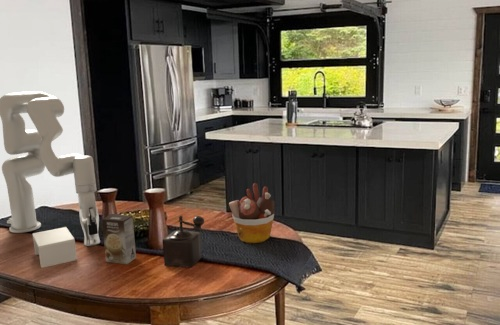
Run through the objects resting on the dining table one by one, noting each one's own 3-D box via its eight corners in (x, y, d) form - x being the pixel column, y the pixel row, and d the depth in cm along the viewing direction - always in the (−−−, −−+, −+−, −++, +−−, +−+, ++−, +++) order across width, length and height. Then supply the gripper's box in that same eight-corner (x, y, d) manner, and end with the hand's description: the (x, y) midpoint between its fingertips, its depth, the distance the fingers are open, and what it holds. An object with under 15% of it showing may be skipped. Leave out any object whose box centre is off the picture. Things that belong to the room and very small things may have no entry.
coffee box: (105, 262, 173) (100, 218, 170) (115, 255, 179) (111, 213, 175) (127, 264, 170) (123, 220, 167) (137, 257, 176) (133, 215, 172)
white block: (35, 253, 184) (32, 233, 182) (68, 246, 189) (66, 226, 188) (41, 268, 170) (38, 246, 168) (77, 259, 176) (74, 238, 174)
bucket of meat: (271, 248, 179) (270, 196, 175) (228, 247, 182) (225, 195, 178) (278, 229, 198) (277, 182, 194) (238, 228, 201) (236, 182, 197)
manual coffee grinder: (162, 266, 167) (158, 216, 163) (176, 254, 177) (172, 206, 174) (204, 270, 163) (201, 218, 159) (216, 257, 173) (213, 208, 169)
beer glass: (95, 246, 188) (91, 209, 185) (79, 246, 189) (75, 209, 186) (104, 240, 195) (100, 204, 192) (88, 239, 196) (84, 203, 193)
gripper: (71, 185, 193) (76, 227, 197) (80, 194, 178) (86, 239, 182) (90, 182, 197) (95, 223, 200) (101, 190, 182) (106, 235, 185)
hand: (90, 230), depth 191 cm, fingers open, 8 cm apart
